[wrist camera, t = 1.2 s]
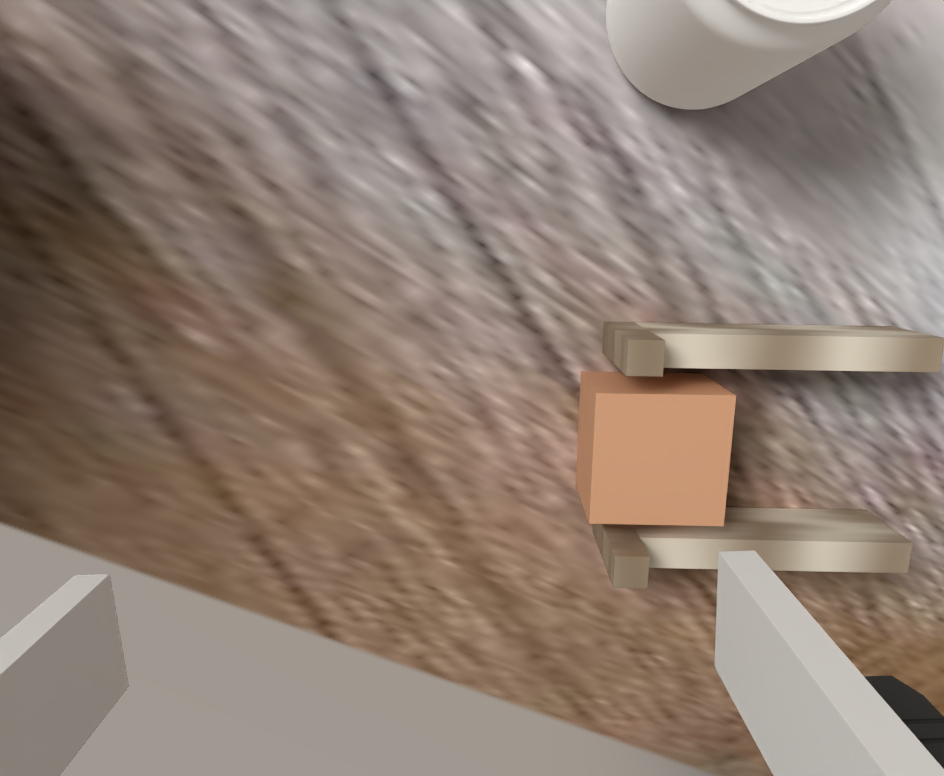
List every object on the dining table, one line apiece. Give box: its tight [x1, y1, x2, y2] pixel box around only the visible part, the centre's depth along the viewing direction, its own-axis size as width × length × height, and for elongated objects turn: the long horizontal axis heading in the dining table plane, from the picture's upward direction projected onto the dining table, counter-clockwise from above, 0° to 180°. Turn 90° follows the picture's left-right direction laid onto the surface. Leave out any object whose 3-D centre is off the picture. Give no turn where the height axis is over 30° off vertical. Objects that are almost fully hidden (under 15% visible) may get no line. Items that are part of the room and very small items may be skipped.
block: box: [576, 372, 736, 526], centre depth 33 cm, size 6×6×5 cm
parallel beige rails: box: [593, 322, 944, 589], centre depth 32 cm, size 14×11×6 cm
